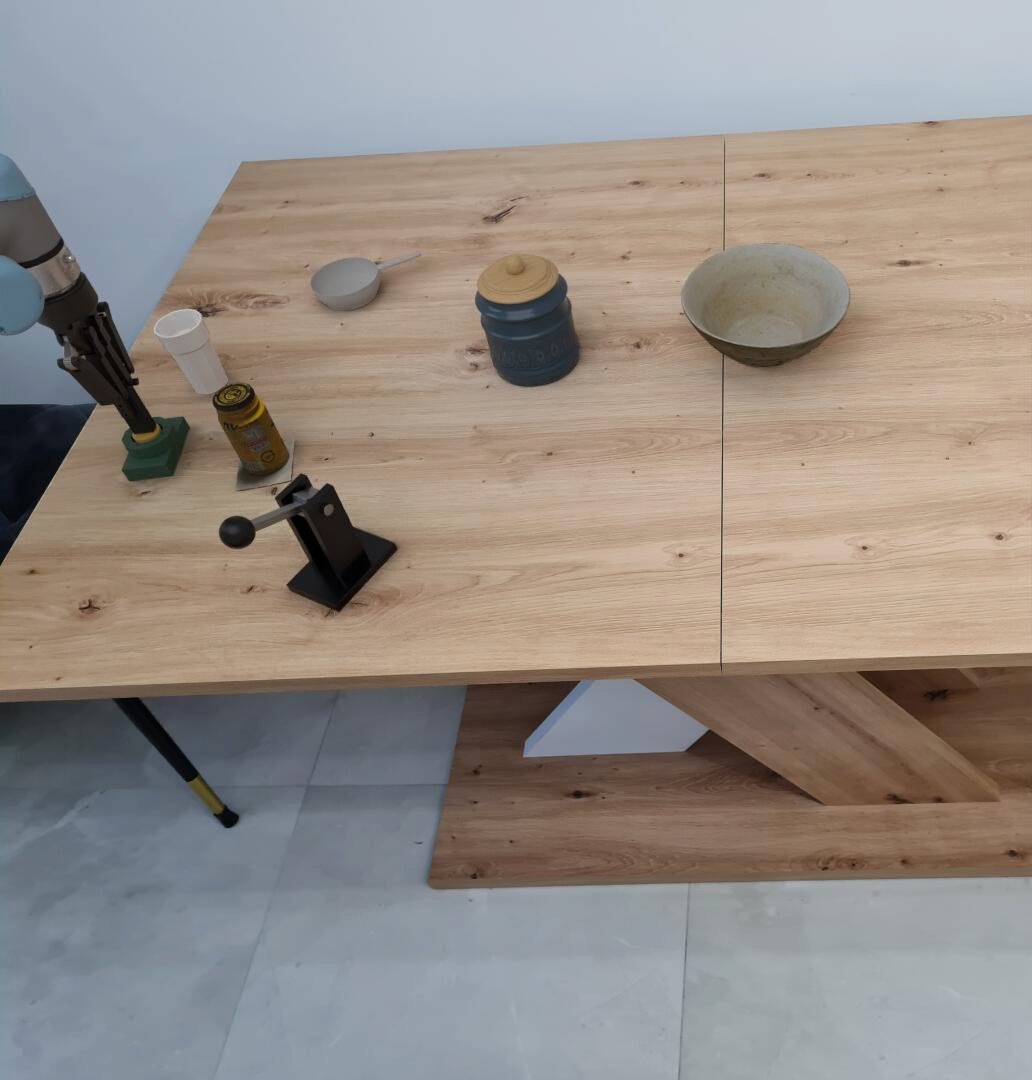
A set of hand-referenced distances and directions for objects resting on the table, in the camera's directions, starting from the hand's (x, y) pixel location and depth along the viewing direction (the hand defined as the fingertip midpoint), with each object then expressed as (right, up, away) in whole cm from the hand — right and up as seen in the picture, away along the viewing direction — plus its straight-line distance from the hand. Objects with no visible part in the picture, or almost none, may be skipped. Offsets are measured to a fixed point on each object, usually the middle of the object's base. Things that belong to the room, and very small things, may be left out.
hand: (145, 429), depth 143 cm
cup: (+3, +8, +13) cm, 16 cm away
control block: (0, -3, +3) cm, 5 cm away
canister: (+52, +11, +12) cm, 54 cm away
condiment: (+16, -5, 0) cm, 17 cm away
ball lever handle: (+29, -14, -26) cm, 41 cm away
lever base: (+32, -19, -14) cm, 40 cm away
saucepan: (+22, +26, +27) cm, 44 cm away
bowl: (+86, +13, +10) cm, 87 cm away
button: (0, -1, +1) cm, 2 cm away
